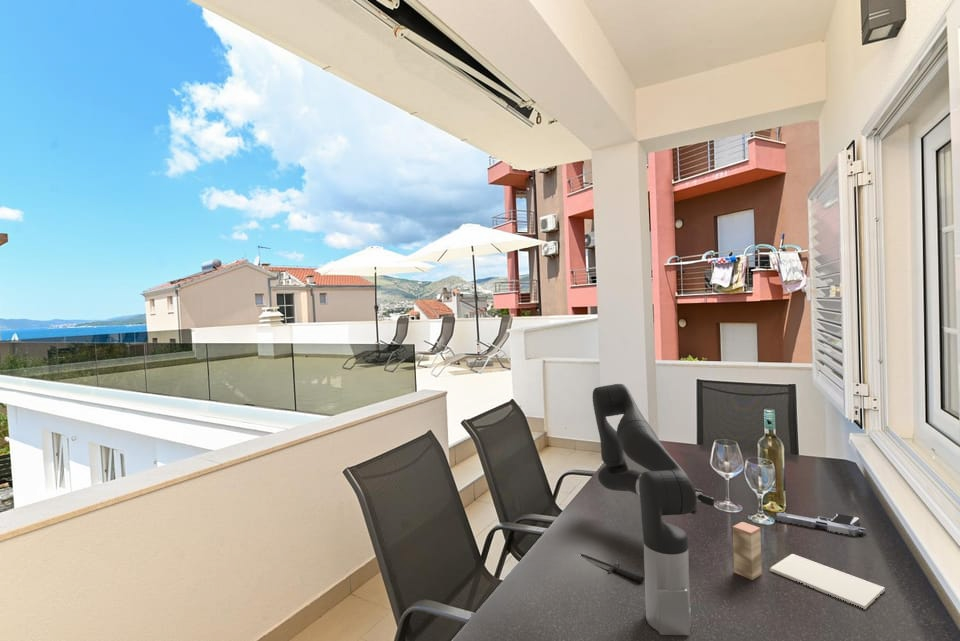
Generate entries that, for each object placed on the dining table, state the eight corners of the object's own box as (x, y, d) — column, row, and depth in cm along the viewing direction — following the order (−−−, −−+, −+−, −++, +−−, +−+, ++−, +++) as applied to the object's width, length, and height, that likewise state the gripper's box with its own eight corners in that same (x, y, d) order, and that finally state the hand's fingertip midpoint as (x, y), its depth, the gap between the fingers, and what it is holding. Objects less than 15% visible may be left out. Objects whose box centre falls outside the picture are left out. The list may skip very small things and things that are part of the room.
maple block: (761, 574, 121) (760, 527, 121) (752, 580, 119) (750, 532, 119) (743, 566, 125) (742, 521, 125) (734, 572, 123) (732, 526, 122)
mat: (884, 590, 112) (884, 587, 112) (864, 609, 106) (864, 606, 106) (792, 556, 129) (792, 553, 129) (770, 570, 123) (770, 567, 123)
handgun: (779, 502, 160) (775, 514, 151) (864, 517, 147) (866, 532, 137) (779, 509, 160) (775, 522, 151) (864, 525, 147) (866, 540, 137)
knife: (559, 550, 136) (570, 543, 140) (560, 557, 137) (571, 549, 140) (636, 581, 118) (646, 571, 121) (637, 588, 118) (647, 578, 121)
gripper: (639, 482, 141) (689, 499, 127) (669, 471, 149) (719, 486, 135) (640, 506, 141) (690, 526, 128) (669, 494, 149) (719, 512, 135)
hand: (704, 506), depth 131 cm, fingers open, 8 cm apart
